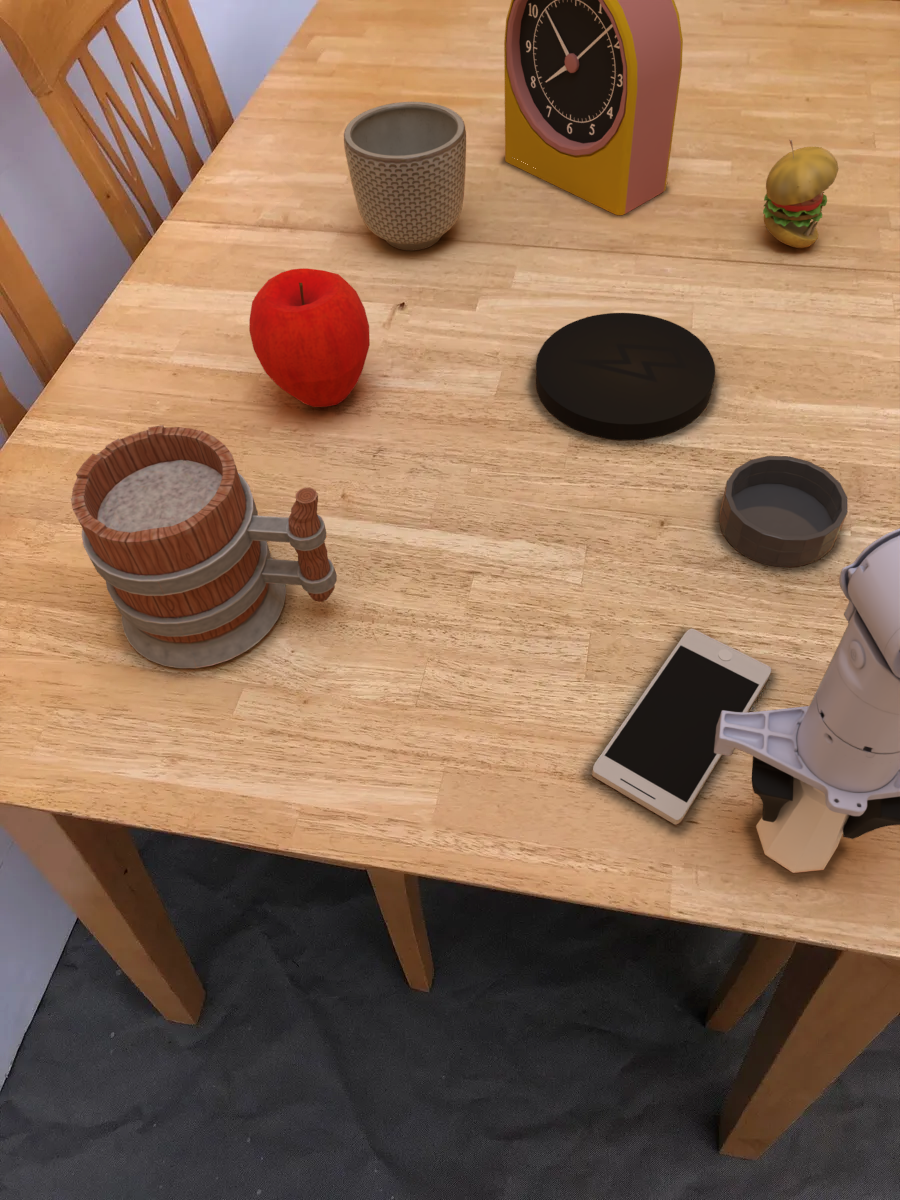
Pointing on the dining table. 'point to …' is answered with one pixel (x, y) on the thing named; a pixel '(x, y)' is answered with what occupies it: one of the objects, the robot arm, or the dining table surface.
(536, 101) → the alarm clock
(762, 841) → the salt shaker
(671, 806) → the smartphone
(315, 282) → the apple
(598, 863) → the dining table surface
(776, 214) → the hamburger
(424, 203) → the planter
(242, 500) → the mug
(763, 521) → the bowl
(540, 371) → the wireless charger
